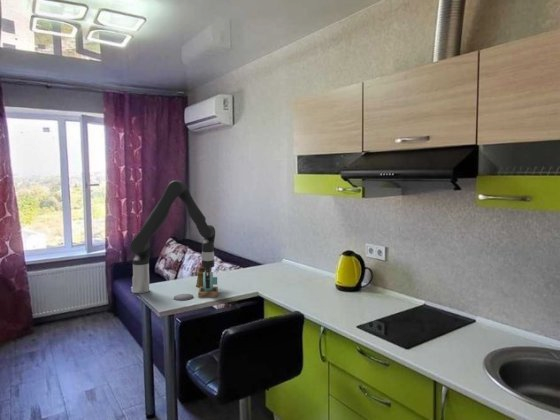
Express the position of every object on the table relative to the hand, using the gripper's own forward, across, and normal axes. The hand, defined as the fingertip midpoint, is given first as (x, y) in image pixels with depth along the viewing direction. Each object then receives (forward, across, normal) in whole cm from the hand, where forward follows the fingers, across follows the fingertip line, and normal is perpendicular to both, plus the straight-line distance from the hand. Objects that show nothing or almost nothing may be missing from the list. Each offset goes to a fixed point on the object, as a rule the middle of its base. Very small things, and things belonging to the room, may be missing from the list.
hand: (208, 286), depth 232 cm
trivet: (+5, +5, -14) cm, 16 cm away
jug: (+5, 0, +1) cm, 5 cm away
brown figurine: (+5, -17, -3) cm, 18 cm away
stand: (+5, 0, 0) cm, 5 cm away
